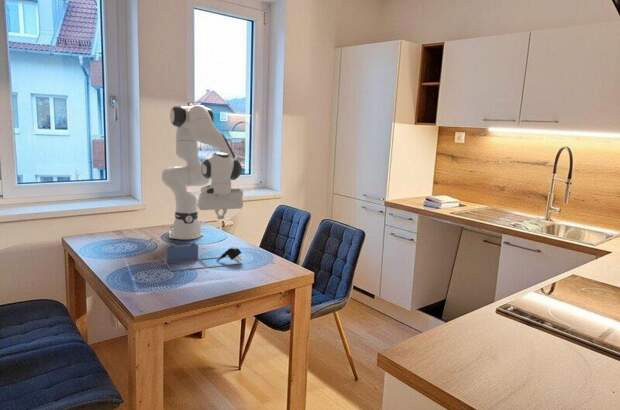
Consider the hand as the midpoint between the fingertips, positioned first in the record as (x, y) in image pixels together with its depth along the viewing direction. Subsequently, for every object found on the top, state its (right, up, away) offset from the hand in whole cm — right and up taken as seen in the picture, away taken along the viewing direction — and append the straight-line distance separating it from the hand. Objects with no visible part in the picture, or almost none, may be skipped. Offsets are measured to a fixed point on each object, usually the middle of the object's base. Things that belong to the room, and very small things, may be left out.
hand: (220, 218), depth 202 cm
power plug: (-1, -22, +3) cm, 22 cm away
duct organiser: (-7, -20, 0) cm, 22 cm away
